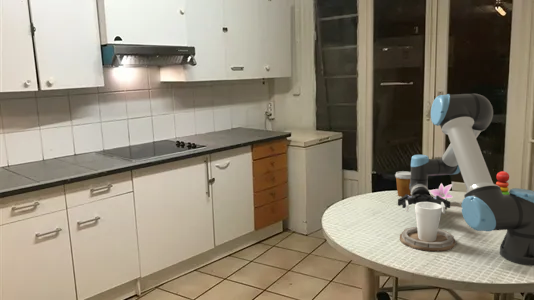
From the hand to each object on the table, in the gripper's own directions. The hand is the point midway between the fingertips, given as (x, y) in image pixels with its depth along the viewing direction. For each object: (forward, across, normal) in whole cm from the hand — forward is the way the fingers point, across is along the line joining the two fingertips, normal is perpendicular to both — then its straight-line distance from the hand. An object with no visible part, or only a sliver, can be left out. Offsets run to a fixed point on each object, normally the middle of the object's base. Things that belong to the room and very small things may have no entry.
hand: (425, 209), depth 170 cm
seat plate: (+7, 0, -10) cm, 12 cm away
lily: (-46, -12, -11) cm, 48 cm away
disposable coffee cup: (-57, +5, -11) cm, 58 cm away
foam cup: (+7, 0, -10) cm, 12 cm away
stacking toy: (-36, -36, -11) cm, 52 cm away
